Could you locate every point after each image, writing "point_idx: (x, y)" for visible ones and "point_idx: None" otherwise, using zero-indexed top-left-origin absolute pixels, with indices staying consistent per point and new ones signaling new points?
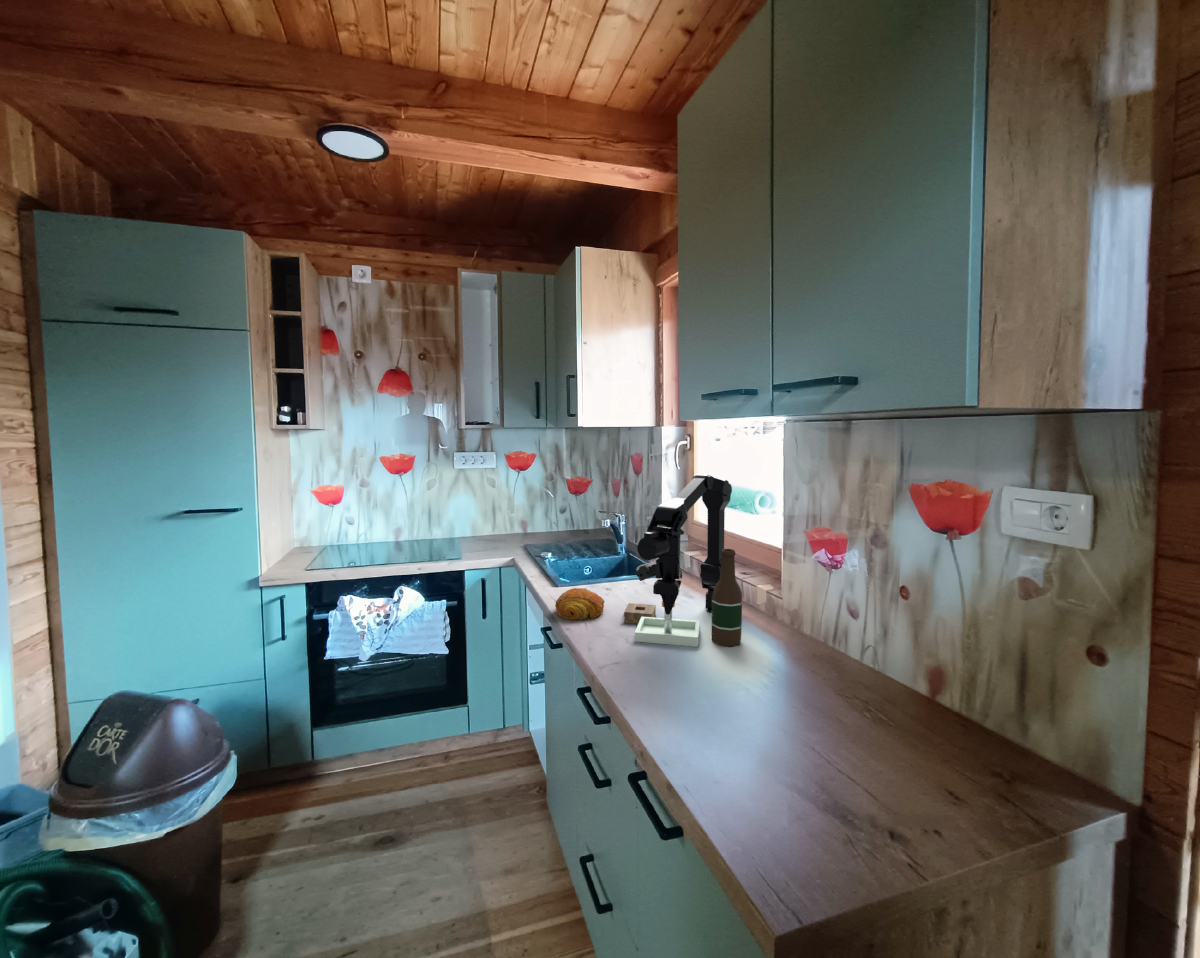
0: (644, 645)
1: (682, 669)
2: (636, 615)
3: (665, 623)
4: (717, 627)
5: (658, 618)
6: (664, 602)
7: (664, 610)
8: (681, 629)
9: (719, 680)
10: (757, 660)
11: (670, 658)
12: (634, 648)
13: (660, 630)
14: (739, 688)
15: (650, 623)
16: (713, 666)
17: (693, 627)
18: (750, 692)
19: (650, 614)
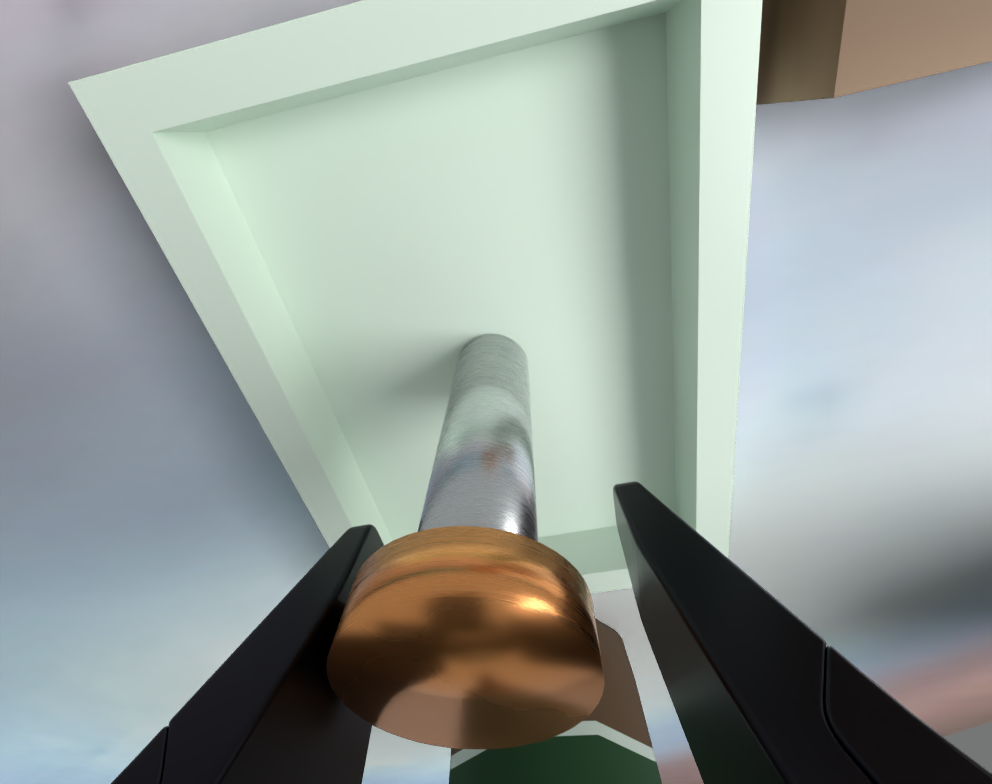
0: (146, 236)
1: (25, 565)
2: None
3: (448, 407)
4: (458, 755)
5: (722, 223)
6: (168, 761)
7: (446, 499)
8: (618, 440)
9: (77, 688)
10: (379, 747)
11: (97, 483)
12: (2, 164)
13: (528, 283)
14: (80, 735)
15: (672, 111)
16: (191, 655)
17: (678, 508)
18: (85, 756)
19: (833, 59)
